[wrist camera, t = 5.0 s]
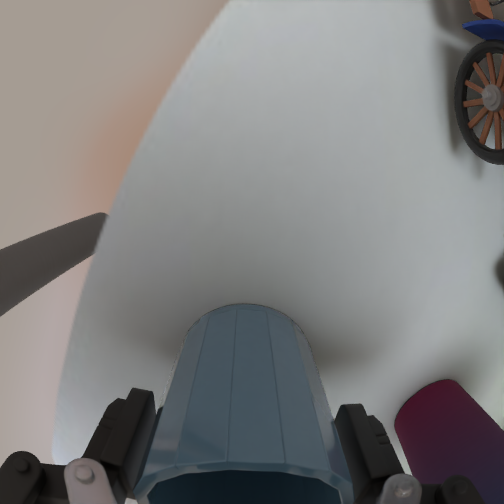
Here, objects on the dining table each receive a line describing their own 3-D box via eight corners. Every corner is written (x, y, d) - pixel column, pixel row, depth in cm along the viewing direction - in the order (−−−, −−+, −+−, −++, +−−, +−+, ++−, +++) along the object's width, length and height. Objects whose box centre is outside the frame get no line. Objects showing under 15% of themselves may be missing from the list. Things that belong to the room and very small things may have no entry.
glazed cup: (182, 400, 14) (151, 533, 7) (180, 296, 13) (113, 441, 5) (297, 408, 14) (321, 541, 7) (321, 308, 13) (389, 453, 5)
